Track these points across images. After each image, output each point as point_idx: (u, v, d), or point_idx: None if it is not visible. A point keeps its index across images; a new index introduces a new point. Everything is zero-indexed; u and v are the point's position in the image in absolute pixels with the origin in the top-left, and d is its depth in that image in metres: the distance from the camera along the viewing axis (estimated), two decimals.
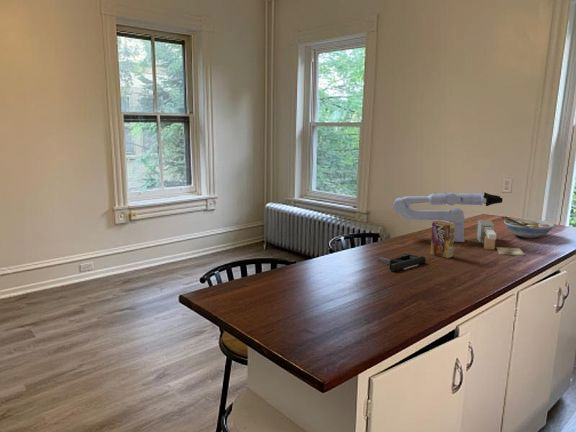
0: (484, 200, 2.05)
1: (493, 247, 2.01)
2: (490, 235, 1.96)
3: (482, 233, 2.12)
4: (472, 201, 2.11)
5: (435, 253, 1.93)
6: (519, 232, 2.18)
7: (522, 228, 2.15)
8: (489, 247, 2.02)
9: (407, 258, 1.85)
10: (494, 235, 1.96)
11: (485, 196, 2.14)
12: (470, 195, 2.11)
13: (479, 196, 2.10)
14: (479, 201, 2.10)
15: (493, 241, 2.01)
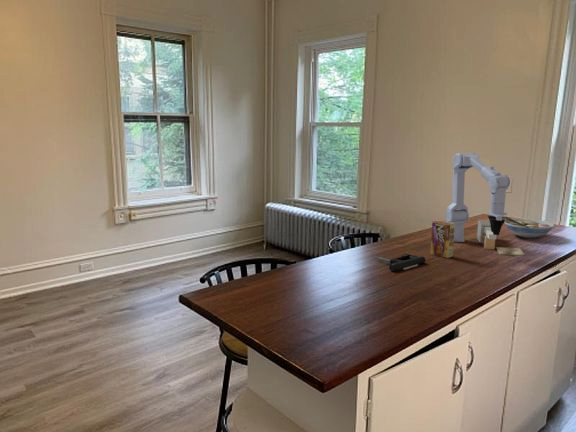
0: (499, 218, 1.82)
1: (493, 247, 2.01)
2: (490, 235, 1.96)
3: (482, 233, 2.12)
4: (496, 205, 1.86)
5: (435, 253, 1.93)
6: (519, 232, 2.18)
7: (522, 228, 2.15)
8: (489, 247, 2.02)
9: (407, 258, 1.85)
10: (494, 235, 1.96)
11: None
12: (496, 203, 1.86)
13: (501, 212, 1.86)
14: (495, 212, 1.87)
15: (493, 241, 2.01)
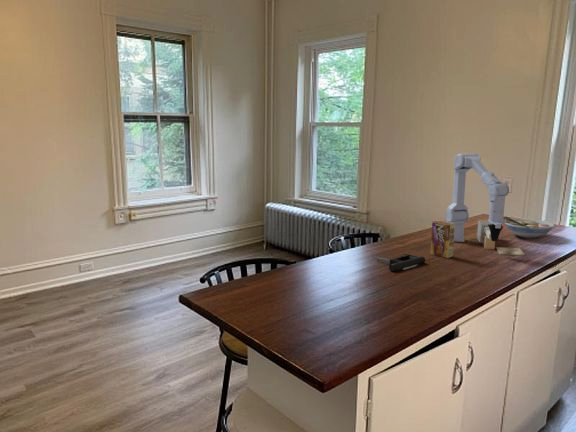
0: (498, 226, 1.83)
1: (493, 247, 2.01)
2: (490, 235, 1.96)
3: (482, 233, 2.12)
4: (495, 213, 1.87)
5: (435, 253, 1.93)
6: (519, 232, 2.18)
7: (522, 228, 2.15)
8: (489, 247, 2.02)
9: (407, 258, 1.85)
10: None
11: None
12: (496, 211, 1.87)
13: (500, 220, 1.87)
14: (494, 220, 1.88)
15: (493, 241, 2.01)
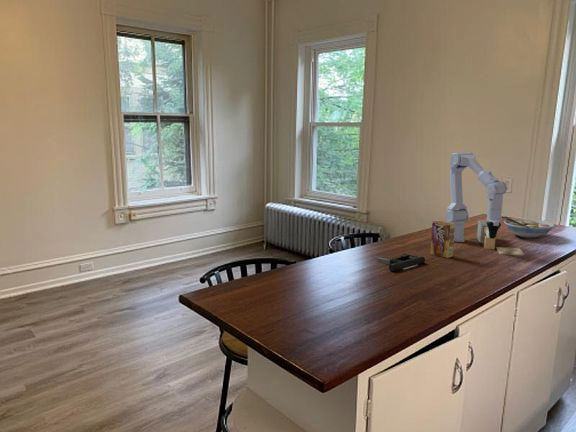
0: (496, 224, 1.88)
1: (493, 247, 2.01)
2: None
3: (482, 233, 2.12)
4: (493, 211, 1.92)
5: (435, 253, 1.93)
6: (519, 232, 2.18)
7: (522, 228, 2.15)
8: (489, 247, 2.02)
9: (406, 258, 1.85)
10: None
11: None
12: (495, 209, 1.91)
13: (498, 218, 1.92)
14: (492, 218, 1.92)
15: (493, 241, 2.01)
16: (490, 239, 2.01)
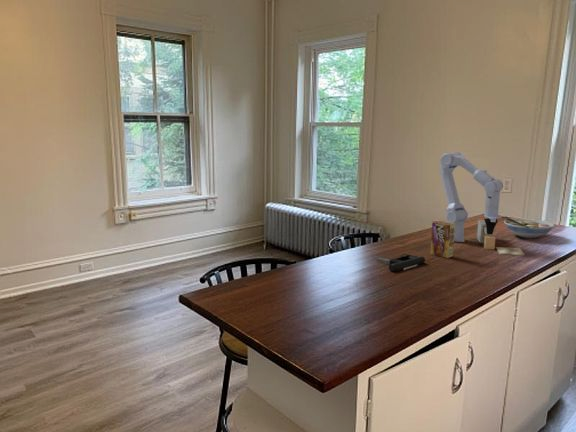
0: (493, 220, 1.96)
1: (493, 247, 2.01)
2: None
3: (482, 233, 2.12)
4: (490, 207, 1.99)
5: (435, 253, 1.93)
6: (519, 232, 2.18)
7: (522, 228, 2.15)
8: (489, 247, 2.02)
9: (406, 258, 1.85)
10: None
11: None
12: (494, 206, 1.99)
13: (495, 214, 1.99)
14: (490, 214, 2.00)
15: (493, 241, 2.01)
16: (490, 239, 2.01)
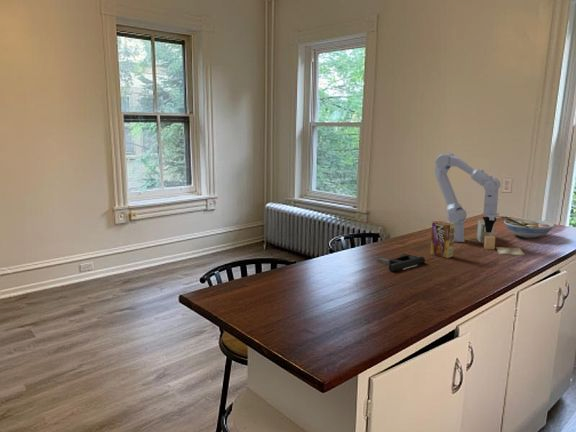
0: (492, 218, 1.99)
1: (493, 247, 2.01)
2: None
3: (482, 233, 2.12)
4: (489, 206, 2.03)
5: (435, 253, 1.93)
6: (519, 232, 2.18)
7: (522, 228, 2.15)
8: (489, 247, 2.02)
9: (406, 258, 1.85)
10: None
11: None
12: (493, 204, 2.02)
13: (494, 212, 2.03)
14: (488, 213, 2.04)
15: (493, 241, 2.01)
16: (490, 239, 2.01)
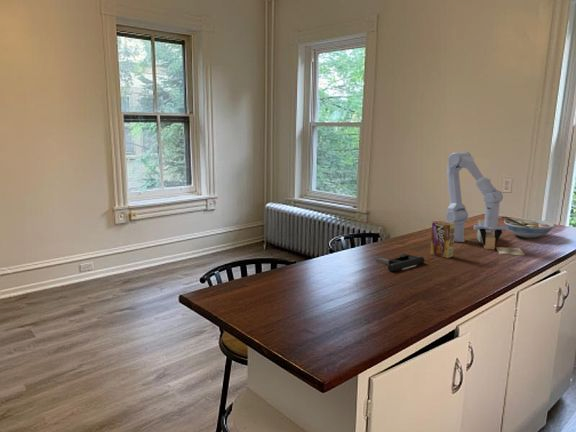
0: None
1: (493, 247, 2.01)
2: None
3: None
4: None
5: (435, 253, 1.93)
6: (519, 232, 2.18)
7: (522, 228, 2.15)
8: (489, 247, 2.02)
9: (406, 258, 1.85)
10: None
11: (495, 232, 2.01)
12: (493, 217, 1.98)
13: (485, 224, 2.01)
14: None
15: (493, 241, 2.01)
16: (490, 239, 2.01)
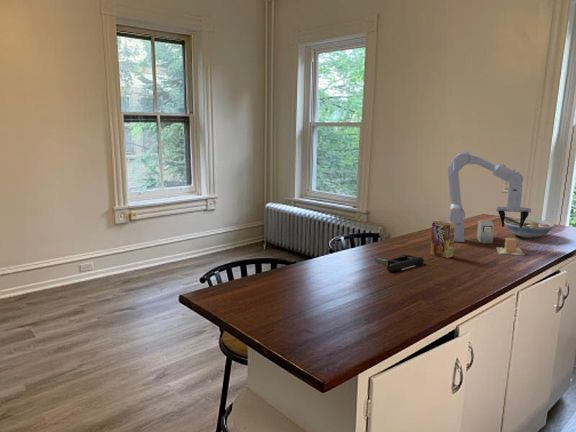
0: (496, 209, 2.05)
1: (514, 250, 1.94)
2: (486, 228, 2.09)
3: (482, 233, 2.12)
4: (507, 199, 2.04)
5: (435, 253, 1.93)
6: (519, 232, 2.18)
7: (522, 228, 2.15)
8: (510, 250, 1.95)
9: (405, 259, 1.84)
10: (489, 228, 2.09)
11: (522, 213, 2.02)
12: (519, 198, 2.00)
13: (508, 206, 2.02)
14: (507, 205, 2.05)
15: (514, 243, 1.94)
16: (511, 241, 1.94)
